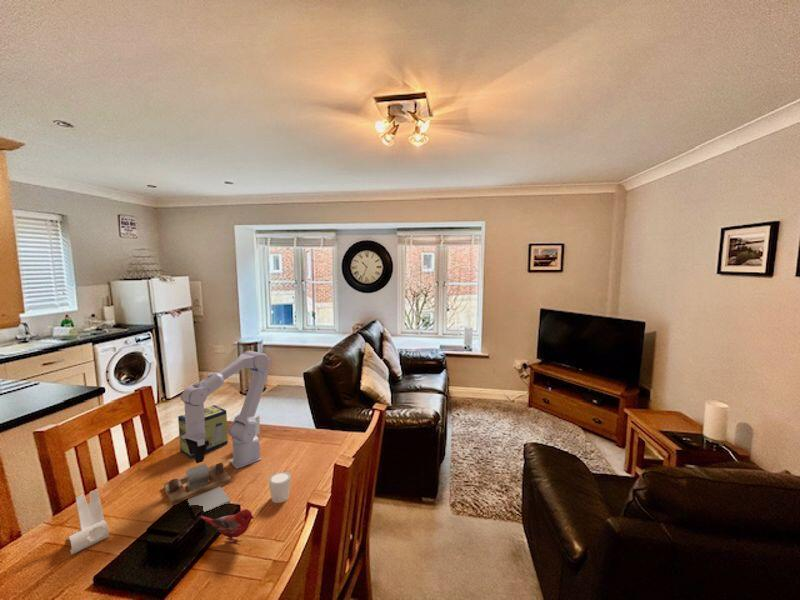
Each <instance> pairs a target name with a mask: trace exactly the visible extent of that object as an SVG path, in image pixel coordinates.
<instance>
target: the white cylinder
mask: <svg viewBox="0 0 800 600" xmlns="http://www.w3.org/2000/svg"><path fill="white" fill-rule="evenodd" d="M268 483H269V484H268V485H269V490H270V491H269V492H270V498H271V499H270V500H271V501H272V503H274V504H280V503H283V502H286V501H287V500H288V499H289V497H290V488H291V487H290V486H291V474H290V472H287V471H280V472H276V473H273V474H272V475H271V476H270V477H269V479H268Z"/></svg>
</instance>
